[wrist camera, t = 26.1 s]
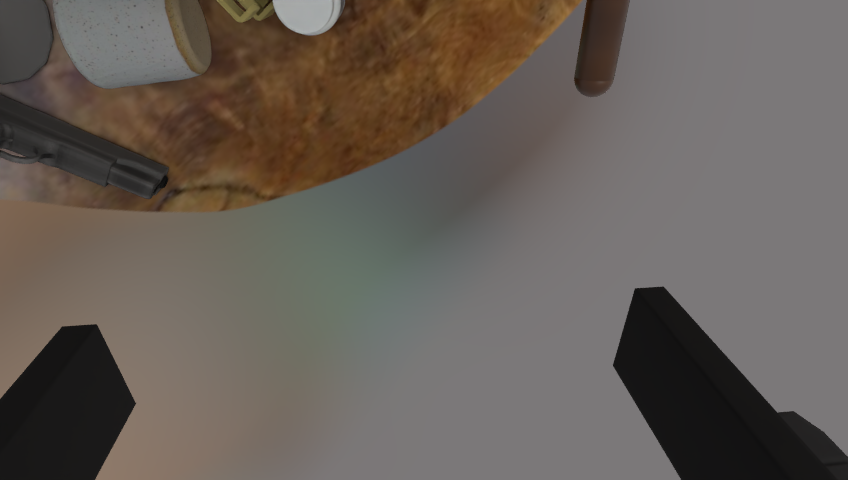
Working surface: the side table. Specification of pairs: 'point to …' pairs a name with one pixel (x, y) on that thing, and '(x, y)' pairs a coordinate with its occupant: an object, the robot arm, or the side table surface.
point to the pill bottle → (308, 14)
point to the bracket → (248, 9)
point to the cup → (23, 38)
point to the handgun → (75, 151)
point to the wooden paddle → (600, 45)
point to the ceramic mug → (134, 40)
